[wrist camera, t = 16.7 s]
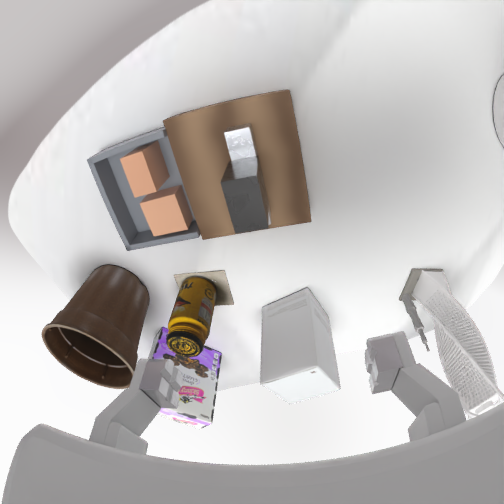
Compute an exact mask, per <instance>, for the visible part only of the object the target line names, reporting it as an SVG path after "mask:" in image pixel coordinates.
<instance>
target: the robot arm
mask: <svg viewBox="0 0 504 504" xmlns="http://www.w3.org/2000/svg"><path fill="white" fill-rule="evenodd" d="M493 113H494V122H495V128H496V131H497V135H498V137H499V140H500V142H501V144H502V145H503V147H504V75H503V76H502V77H501V79H500V80H499V82H498V84H497V87H496V90H495V95H494V103H493ZM365 364H366V369H367V372H369V373H370V379H369V382H370V387H371V391H372V394H375V393H380V392H384V391H389V390H392V392H393V393H394V394H395V395H396V396H397V397H398V398H399V399H400V400H401V401H402V402H403V404H404V405H406V407H407V408H408V409H409V410H410V411H411V412H412V413H413V414H414V415H415V416H416V417H417V418H416V419H415V421H414V422H413V423H412V424H411V426H410V427H409V428H408V432H409V437H410V442H408V443H405V444H401V445H398V446H394V447H390V448H386V449H382V450H378V451H374V452H369V453H364V454H360V455H354V456H349V457H344V458H337V459H331V460H323V461H315V462H305V463H293V464H278V465H227V464H210V463H198V462H189V461H181V460H174V459H166V458H160V457H155V456H149V455H146V452H147V447H148V443H147V442H146V441H145V440H143V439H141V438H140V437H139V436H140V435H141V434H142V433H143V431H144V430H145V429H146V428H147V426H148V425H149V424H150V423H151V421H152V420H153V419H154V417H155V416H156V415H157V414H158V412H159V411H160V410H161V408H172V409H177V408H178V403H179V398H180V396H179V394H178V391H179V390H180V389H181V388H182V383H183V379H182V374H181V371H180V370H179V369H178V368H176V367H174V362H173V361H172V360H171V359H140V360H139V361H138V362H137V365H136V368H135V371H134V374H133V377H132V380H131V383H130V387H129V388H127V389H126V390H124V391H123V392H122V393H121V394H120V395H119V396H118V397H117V398H116V399H115V400H114V401H113V402H112V403H111V404H110V405H109V406H108V407H106V409H104V410H103V411H102V412H101V413H100V414H99V415H98V416H97V417H96V419H95V422H94V426H93V429H92V432H91V435H90V439H89V440H86V439H83V438H80V437H77V436H74V435H71V434H69V433H66V432H63V431H61V430H58V429H56V428H53V427H51V426H48V425H45V424H39V425H37V426H36V427H34V428H33V429H32V430H31V431H29V433H27V434H26V435H25V436H24V437H23V438H22V439H21V441H20V443H19V445H18V447H17V449H16V452H15V455H14V458H13V460H12V463H11V467H10V470H9V473H8V477H7V481H6V485H5V489H4V494H3V499H2V504H504V402H503V403H502V404H500V405H498V406H496V407H494V408H492V409H490V410H488V411H486V412H484V413H482V414H480V415H478V416H476V417H474V418H472V419H469V420H467V421H466V418H465V414H464V411H463V408H462V405H461V401H460V398H459V395H458V393H457V392H456V391H454V390H453V389H452V388H450V387H449V386H448V385H446V384H445V383H444V382H443V381H441V380H440V379H439V378H438V377H436V376H435V375H434V374H432V373H431V372H430V371H429V370H427V369H426V368H425V367H424V366H422V365H421V364H420V363H419V364H416V362H415V359H414V356H413V354H412V351H411V348H410V345H409V343H408V340H407V337H406V335H405V333H404V332H403V331H400V332H396V333H392V334H386V335H382V336H378V337H373V338H369V339H368V340H367V349H366V351H365Z"/></svg>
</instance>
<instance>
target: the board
mask: <svg viewBox="0 0 504 504" xmlns="http://www.w3.org/2000/svg"><path fill="white" fill-rule="evenodd" d="M163 123H164V126H165V129H166V132H167V136H168V139H169V142H170V145H171V148H172V151H173V155H174V158H175V161H176V164H177V167H178V170H179V173H180V176H181V179H182V182H183V185H184V188H185V191H186V194H187V196H188V199H189V202H190V205H191V208H192V211H193V214H194V217H195V219H196V222H197V225H198V228H199V231H200V233H201V236H202V239H203V240H205V239H210V238H216V237H222V236H228V235H233V234H235V231H234V228H233V224H232V221H231V218H230V214H229V211H228V207H227V204H226V200H225V197H224V194H223V190H222V187H221V183H220V182H221V179H222V177H223V175H224V172H225V170H226V167H227V165H228V162H229V161H231V157H230V154H229V150H228V146H227V142H226V138H225V135H224V132H225V131H226V129H227V128H228V127H233V126H237V125H242V124H247V123H251V126H252V130H253V135H254V139H255V143H256V147H257V152H258V156H259V160H260V165H261V169H262V174H263V178H264V183H265V187H266V192H267V196H268V201H269V206H270V211H271V224H270V225H269V228H276V227H282V226H288V225H294V224H301V223H307V222H311V214H310V207H309V199H308V192H307V186H306V179H305V172H304V166H303V160H302V154H301V148H300V142H299V136H298V131H297V125H296V120H295V115H294V110H293V105H292V100H291V95H290V90H281V91H275V92H269V93H263V94H258V95H253V96H248V97H243V98H239V99H234V100H230V101H226V102H222V103H217V104H214V105H210V106H206V107H202V108H199V109H195V110H192V111H188V112H185V113H182V114H178V115H175V116H172V117H170V118H167V119H165V120H163ZM269 228H268V229H269ZM262 230H263V229H262ZM256 231H257V230H256ZM250 232H251V231H250ZM244 233H245V232H244ZM238 234H239V233H238Z"/></svg>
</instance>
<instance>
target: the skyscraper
mask: <svg viewBox="0 0 504 504" xmlns="http://www.w3.org/2000/svg"><path fill="white" fill-rule="evenodd" d="M399 300H400V301H403V302H404V304H405V307H406V311H407V313H408V314H409V315H410V317H411V319H412V321H413V324H414V327H415V330H416V332H417V333H419V334H420V336H421V339H422V342H423V343H424V344H425V345H426V348H427V351H430V350H429V348H428V345H427V339H426V337H425V335H424V333H423V329H424V326H423V324H422V323H421V321H420V319H419V317H418V315H417V311H416V307H415V305H414V304H413V302H412V300H417V301H418V302H419V303H420V304H421V305H422V306H423V307H424V308H425V310H426V311H427V312H428V313H429V314H430V315H431V316H432V318H433V320H434V328H435V335H436V342H437V347H438V352H439V356H440V360H441V363H442V366H443V369H444V372H445V374H446V377H447V379H448V381H449V383H450V385H451V388H452V389H453V390H454V391H456V392H457V393H458V395H459V398H460V401H461V405H462V408H463V409H464V411H465V413H466V414H468V419H472V418H474V417H476V416H478V415H480V414H482V413H484V412H486V411H488V410H490V409H492V408H494V407H496V406H497V405H498V404H499V402H500V400H499V396H500V397H501V398H502V399H503V400H504V394H503V393H502V392H501V391H500V390H499V389H498V387H497V381H496V376H495V372H494V367H493V364H492V360H491V357H490V354H489V351H488V348H487V346H486V343H485V341H484V339H483V337H482V335H481V333H480V331H479V329H478V328H477V326H476V325H475V323H474V321H473V320H472V319H471V318H470V316H469V314H468V313H467V312H466V311H465V309H464V308H463V307H462V306H461V305H460V304H459V302H458V301H457V300H456V299H455V298H454V297H453V296H452V294H451V291H450V288H449V285H448V282H447V279H446V276H445V274H444V271H443V269H412V270H411V273H410V275H409V277H408V280H407V282H406V284H405V287H404V289H403V291H402V293H401V295H400V298H399ZM495 401H497V403H496V404H495V405H493V403H494V402H495Z"/></svg>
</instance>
